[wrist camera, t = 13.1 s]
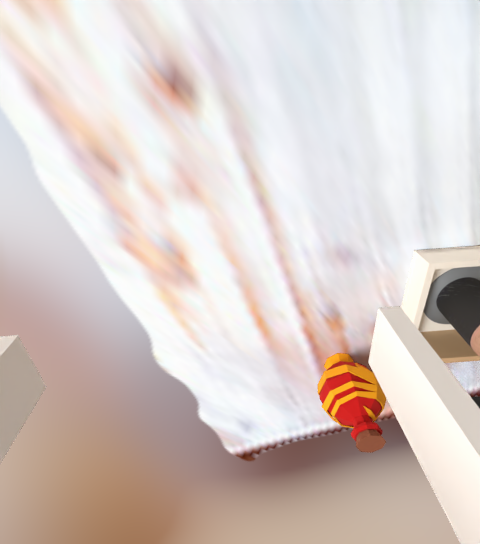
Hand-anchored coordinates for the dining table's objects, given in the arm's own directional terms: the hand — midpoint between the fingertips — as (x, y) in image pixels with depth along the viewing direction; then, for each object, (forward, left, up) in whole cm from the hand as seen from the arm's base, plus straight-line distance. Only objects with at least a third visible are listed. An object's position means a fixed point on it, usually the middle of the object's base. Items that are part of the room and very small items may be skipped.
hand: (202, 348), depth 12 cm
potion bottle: (+36, +18, -32) cm, 51 cm away
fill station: (+22, +35, -32) cm, 52 cm away
